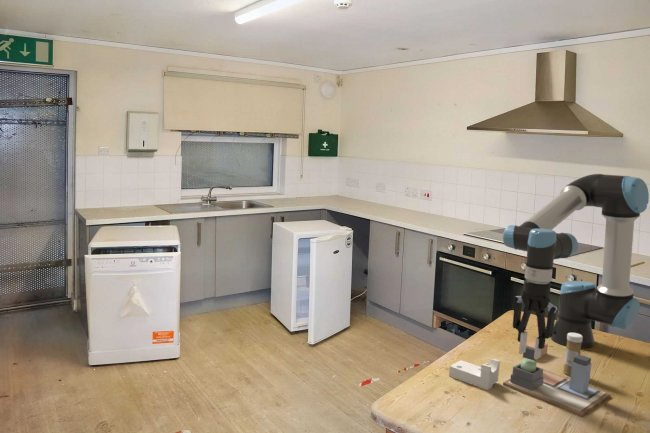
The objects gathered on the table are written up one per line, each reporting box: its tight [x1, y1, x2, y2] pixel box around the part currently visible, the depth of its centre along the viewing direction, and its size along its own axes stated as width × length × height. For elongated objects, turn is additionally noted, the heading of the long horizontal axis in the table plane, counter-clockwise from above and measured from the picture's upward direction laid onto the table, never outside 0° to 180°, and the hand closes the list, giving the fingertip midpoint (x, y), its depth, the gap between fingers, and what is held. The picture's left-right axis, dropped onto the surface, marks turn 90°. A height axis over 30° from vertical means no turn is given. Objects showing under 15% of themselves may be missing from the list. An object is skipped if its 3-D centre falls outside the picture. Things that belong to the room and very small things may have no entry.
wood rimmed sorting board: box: [502, 369, 612, 418], centre depth 165 cm, size 20×24×1 cm
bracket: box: [448, 358, 501, 391], centre depth 170 cm, size 13×7×8 cm, turn 48°
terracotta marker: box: [522, 340, 549, 361], centre depth 192 cm, size 4×4×10 cm
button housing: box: [509, 362, 544, 391], centre depth 166 cm, size 7×7×5 cm
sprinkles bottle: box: [562, 333, 583, 377], centre depth 177 cm, size 5×5×14 cm
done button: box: [520, 358, 538, 373], centre depth 166 cm, size 4×4×3 cm
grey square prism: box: [569, 353, 592, 394], centre depth 163 cm, size 4×4×10 cm
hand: (529, 355), depth 165 cm, fingers open, 4 cm apart
